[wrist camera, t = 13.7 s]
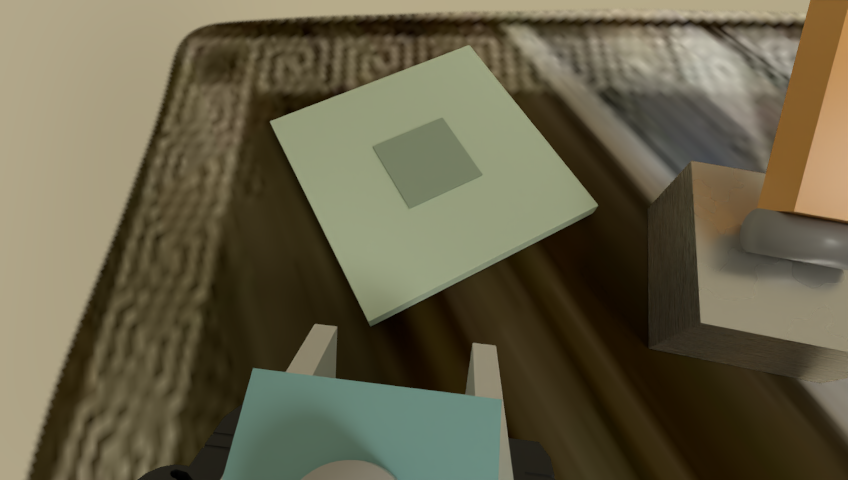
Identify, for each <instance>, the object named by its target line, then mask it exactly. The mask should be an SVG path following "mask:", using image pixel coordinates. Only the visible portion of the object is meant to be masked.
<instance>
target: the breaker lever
mask: <svg viewBox="0 0 848 480" xmlns="http://www.w3.org/2000/svg"><path fill="white" fill-rule="evenodd" d="M740 244H741V247H742V248H743V249H744V250H745V251H746V252H751V253H756V254H762V255H767V256H773V257H778V258H783V259H789V260H794V261H800V262H805V263H811V264H816V265H822V266H827V267H832V268H838V269H843V270H848V0H810V4H809V8H808V12H807V16H806V20H805V23H804V27H803V31H802V35H801V39H800V43H799V47H798V51H797V55H796V58H795V62H794V66H793V70H792V74H791V78H790V82H789V86H788V90H787V93H786V97H785V101H784V105H783V109H782V113H781V117H780V121H779V124H778V128H777V132H776V136H775V140H774V144H773V148H772V152H771V156H770V159H769V163H768V167H767V171H766V175H765V179H764V183H763V187H762V191H761V194H760V198H759V202H758V206H757V209H754V210H753V211H751V212H750V213H749V214H748V215H747V216H746V218H745V219H744V221H743V223H742V226H741V229H740Z"/></svg>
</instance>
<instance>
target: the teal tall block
mask: <svg viewBox="0 0 848 480" xmlns="http://www.w3.org/2000/svg"><path fill="white" fill-rule="evenodd" d="M501 405H502V399H494V398H486V397H478V396H470V395H462V394H455V393H447V392H439V391H431V390H423V389H415V388H407V387H399V386H391V385H383V384H375V383H367V382H360V381H352V380H344V379H336V378H328V377H320V376H312V375H304V374H296V373H288V372H280V371H272V370H265V369H257V368H253V370H252V374H251V377H250V381H249V384H248V388H247V392H246V395H245V399H244V402H243V406H242V410H241V413H240V417H239V420H238V424H237V428H236V431H235V435H234V438H233V442H232V446H231V449H230V453H229V456H228V460H227V464H226V467H225V471H224V474H223V478H222V480H498V475H499V452H500V429H501Z"/></svg>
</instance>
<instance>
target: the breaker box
mask: <svg viewBox="0 0 848 480" xmlns="http://www.w3.org/2000/svg"><path fill="white" fill-rule="evenodd" d="M765 175H766V173H760V172H754V171H748V170H742V169H736V168H730V167H725V166H719V165H713V164H707V163H701V162H695V161H691V162H690V163H689V164H688V165H687V166H686V167H685V168H684V169H683V171H682V172H681V173H680V174H679V175H678V176H677V177H676V178H675V179H674V180H673V182H672V183H671V184H670V185H669V186H668V187H667V188H666V189H665V190H664V191H663V193H662V194H661V195H660V196H659V197H658V198H657V199H656V200H655V201H654V202H653V204H652V205H651V206H650V207H649V208H648V327H649V349H654V350H659V351H664V352H669V353H674V354H679V355H684V356H689V357H694V358H699V359H703V360H708V361H713V362H718V363H723V364H728V365H733V366H738V367H743V368H748V369H753V370H757V371H762V372H767V373H772V374H777V375H782V376H787V377H792V378H797V379H802V380H807V381H811V382H816V383H825V382H830V381H835V380H840V379H845V378H848V270H843V269H838V268H832V267H827V266H822V265H816V264H811V263H805V262H800V261H794V260H789V259H783V258H778V257H773V256H767V255H762V254H756V253H751V252H746V251H745V250H744V249H743V248H742V247H741V244H740V229H741V226H742V223H743V221H744V219H745V218H746V216H747V215H748V214H749V213H750V212H751V211H753V210H754V209H757V206H758V202H759V198H760V194H761V191H762V187H763V183H764V179H765Z"/></svg>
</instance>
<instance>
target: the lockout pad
mask: <svg viewBox="0 0 848 480" xmlns="http://www.w3.org/2000/svg"><path fill="white" fill-rule="evenodd" d="M270 123H271V125H272V128H273V130H274V132H275V134H276V136H277V138H278V140H279V142H280V144H281V146H282V148H283V150H284V153H285V155H286V157H287V159H288V161H289V163H290V165H291V167H292V169H293V171H294V173H295V175H296V177H297V179H298V181H299V183H300V185H301V187H302V189H303V191H304V193H305V195H306V197H307V199H308V201H309V203H310V205H311V207H312V209H313V211H314V213H315V215H316V217H317V219H318V221H319V223H320V225H321V227H322V229H323V231H324V234H325V236H326V238H327V240H328V242H329V244H330V246H331V248H332V250H333V252H334V254H335V256H336V258H337V260H338V262H339V264H340V266H341V268H342V270H343V272H344V274H345V276H346V278H347V280H348V282H349V284H350V286H351V288H352V290H353V292H354V294H355V296H356V298H357V300H358V302H359V304H360V306H361V308H362V310H363V313H364V315H365V317H366V319H367V321H368V323H369V325H370V327H371V326H373V325H375V324H377V323H379V322H381V321H383V320H385V319H387V318H389V317H391V316H392V315H394V314H396V313H398V312H400V311H402V310H404V309H406V308H408V307H410V306H412V305H414V304H416V303H418V302H420V301H422V300H424V299H426V298H428V297H430V296H432V295H434V294H436V293H438V292H440V291H441V290H443V289H445V288H447V287H449V286H451V285H453V284H455V283H457V282H459V281H461V280H463V279H465V278H467V277H469V276H471V275H473V274H475V273H477V272H479V271H481V270H483V269H485V268H487V267H489V266H491V265H492V264H494V263H496V262H498V261H500V260H502V259H504V258H506V257H508V256H510V255H512V254H514V253H516V252H518V251H520V250H522V249H524V248H526V247H528V246H530V245H532V244H534V243H536V242H538V241H540V240H542V239H543V238H545V237H547V236H549V235H551V234H553V233H555V232H557V231H559V230H561V229H563V228H565V227H567V226H569V225H571V224H573V223H575V222H577V221H579V220H581V219H583V218H585V217H587V216H589V215H591V214H592V213H593V212H594V211H595V209H596V208H597V206H598V204H597V203H596V202H595V200H594V199H593V198H592V197H591V195H590V194H589V193H588V192H587V190H586V189H585V188H584V187H583V186H582V184H581V183H580V182H579V181H578V179H577V178H576V177H575V176H574V174H573V173H572V172H571V171H570V169H569V168H568V167H567V166H566V164H565V163H564V162H563V161H562V159H561V158H560V157H559V156H558V155H557V153H556V152H555V151H554V150H553V148H552V147H551V146H550V145H549V143H548V142H547V141H546V140H545V138H544V137H543V136H542V135H541V133H540V132H539V131H538V130H537V128H536V127H535V126H534V125H533V124H532V122H531V121H530V120H529V119H528V117H527V116H526V115H525V114H524V112H523V111H522V110H521V109H520V107H519V106H518V105H517V104H516V102H515V101H514V100H513V99H512V97H511V96H510V95H509V94H508V92H507V91H506V90H505V89H504V88H503V86H502V85H501V84H500V83H499V81H498V80H497V79H496V78H495V76H494V75H493V74H492V73H491V71H490V70H489V69H488V68H487V66H486V65H485V64H484V63H483V61H482V60H481V59H480V58H479V57H478V55H477V54H476V53H475V52H474V50H473V49H472V48H471V47H470V45H468V46H465V47H463V48H460V49H457V50H455V51H452V52H449V53H447V54H444V55H442V56H439V57H436V58H434V59H431V60H429V61H426V62H423V63H421V64H418V65H416V66H413V67H410V68H408V69H405V70H403V71H400V72H397V73H395V74H392V75H390V76H387V77H384V78H382V79H379V80H376V81H374V82H371V83H369V84H366V85H363V86H361V87H358V88H356V89H353V90H350V91H348V92H345V93H343V94H340V95H337V96H335V97H332V98H330V99H327V100H324V101H322V102H319V103H317V104H314V105H311V106H309V107H306V108H303V109H301V110H298V111H296V112H293V113H290V114H288V115H285V116H283V117H280V118H277V119H275V120H272V121H270Z"/></svg>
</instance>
